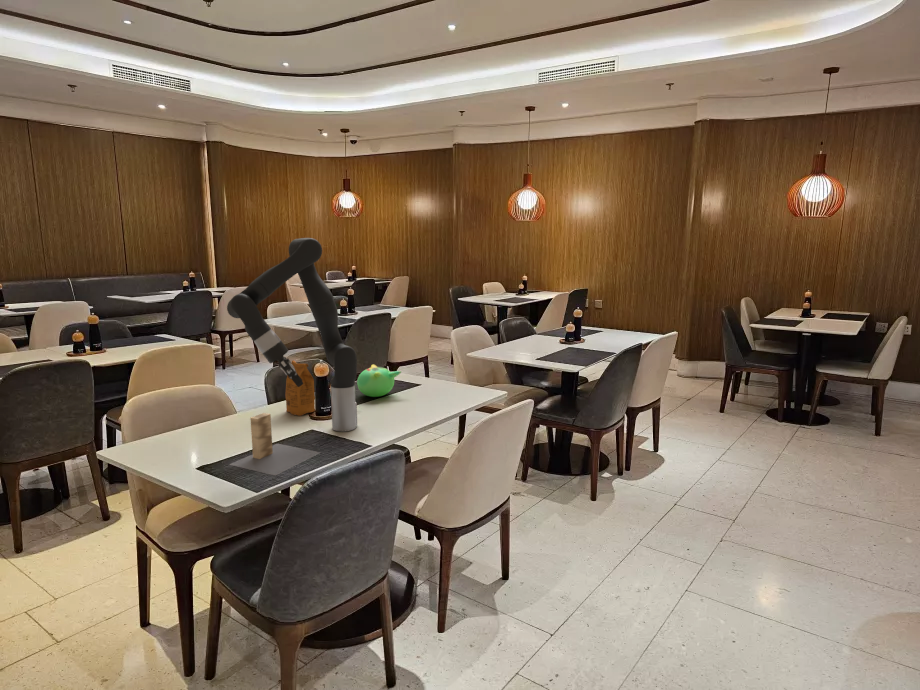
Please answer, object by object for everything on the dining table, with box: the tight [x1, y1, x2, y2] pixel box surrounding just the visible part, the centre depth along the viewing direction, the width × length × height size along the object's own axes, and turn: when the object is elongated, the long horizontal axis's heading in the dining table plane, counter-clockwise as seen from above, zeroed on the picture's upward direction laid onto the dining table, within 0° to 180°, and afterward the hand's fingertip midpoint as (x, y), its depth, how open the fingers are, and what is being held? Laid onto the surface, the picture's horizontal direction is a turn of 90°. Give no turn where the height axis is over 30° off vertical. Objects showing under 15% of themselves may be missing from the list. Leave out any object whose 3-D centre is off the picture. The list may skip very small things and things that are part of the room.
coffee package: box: [285, 359, 316, 417], centre depth 245 cm, size 10×12×22 cm
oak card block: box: [249, 412, 273, 459], centre depth 194 cm, size 6×3×14 cm, turn 154°
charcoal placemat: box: [228, 443, 322, 476], centre depth 193 cm, size 22×20×1 cm
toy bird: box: [356, 364, 402, 398], centre depth 271 cm, size 18×17×15 cm
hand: (300, 384), depth 197 cm, fingers open, 8 cm apart
